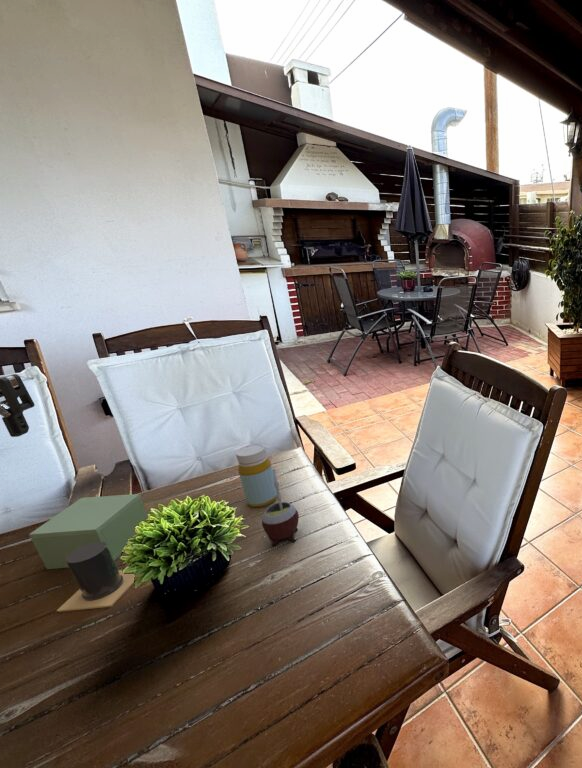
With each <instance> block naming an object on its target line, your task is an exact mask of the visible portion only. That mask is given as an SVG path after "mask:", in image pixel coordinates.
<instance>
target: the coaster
mask: <svg viewBox="0 0 582 768" xmlns="http://www.w3.org/2000/svg"><path fill="white" fill-rule="evenodd" d="M122 570H123V569H118V571H119V573H120V575H122V576H123V578H124V582H123V584H122V585H121V586H120V587H119V588H118V589H117V590H116V591H114V592H113V593H111V594H109V595H108V596H106V597H103V598H101V599H98V600H93V601H86V600H84V599H83V598H82V592H81V590H80V588H79V589H78V590H77V591H76V592H74V594H73V595H71V597H70V598H68V599H67V600H66V601H65V602H64V603H62V604H61V606H60V607H58V609H56V613H61V612H72V611H73V612H74V611H83V610H91V609H93V610H95V609H105V608H112V607H114V605H115V604H116V603H117V602H118V601H119V600H120V599H121V598H122V596H123V595H124V594H125V593H126V592H127V591H128V590H129V589H130V588H131V587H132V585H134V584H135V582H134V577H135V575H134V574H124V573H123V572H122Z"/></svg>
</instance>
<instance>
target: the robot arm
mask: <svg viewBox="0 0 582 768" xmlns="http://www.w3.org/2000/svg"><path fill="white" fill-rule="evenodd" d="M19 399H20V401H21V402H20V401H19ZM5 406H7V407H8V408H7V407H5ZM34 407H35V402H34V400H33V398H32V397H31V394H30V393H29V391H28V389H27V387H26V385H25V383H24V382H23V379H22V378H21V376H20V375H19V374H17V373H13V374H9V375H6V376H0V416H1V420H2V421H3V424H4V426H5V428H6V429H7V432H8V434H9V436H10V437H12V438H18V437H21V436H23V435H25V434H27V433H29V430H30V426H29V424H28V422H27V420H26V418H25V415H24V411H26V410H29V409H31V408H34Z"/></svg>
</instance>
